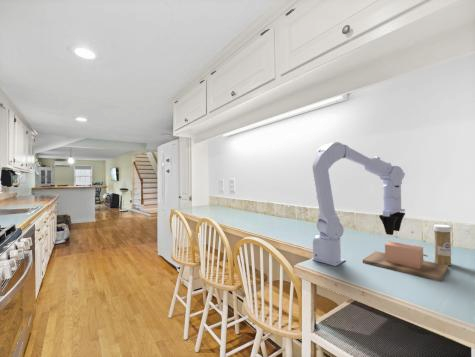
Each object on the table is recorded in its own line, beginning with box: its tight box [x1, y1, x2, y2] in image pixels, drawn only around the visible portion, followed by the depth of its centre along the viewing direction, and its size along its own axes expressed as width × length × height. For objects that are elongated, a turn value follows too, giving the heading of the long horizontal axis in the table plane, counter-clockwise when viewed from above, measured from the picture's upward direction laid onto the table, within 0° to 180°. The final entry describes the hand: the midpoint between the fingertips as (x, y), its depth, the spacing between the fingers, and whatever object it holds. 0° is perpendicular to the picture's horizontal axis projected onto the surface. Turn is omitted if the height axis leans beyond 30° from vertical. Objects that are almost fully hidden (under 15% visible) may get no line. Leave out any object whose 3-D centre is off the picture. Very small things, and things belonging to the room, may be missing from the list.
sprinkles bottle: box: [433, 224, 452, 267], centre depth 84 cm, size 5×5×14 cm
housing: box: [384, 240, 424, 269], centre depth 83 cm, size 10×5×6 cm, turn 41°
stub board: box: [362, 251, 449, 282], centre depth 83 cm, size 22×13×4 cm, turn 41°
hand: (392, 232), depth 91 cm, fingers open, 7 cm apart
